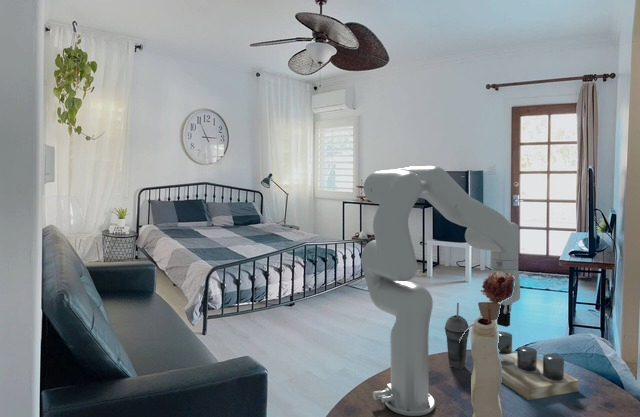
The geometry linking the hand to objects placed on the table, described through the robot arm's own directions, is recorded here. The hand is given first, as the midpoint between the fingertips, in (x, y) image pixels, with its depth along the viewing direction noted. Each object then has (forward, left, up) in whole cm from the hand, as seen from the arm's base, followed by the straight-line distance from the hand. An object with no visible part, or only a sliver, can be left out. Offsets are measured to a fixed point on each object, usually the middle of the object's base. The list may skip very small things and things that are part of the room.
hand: (503, 325), depth 129 cm
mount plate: (+3, -7, -14) cm, 16 cm away
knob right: (+6, -13, -11) cm, 18 cm away
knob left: (0, 0, -8) cm, 8 cm away
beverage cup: (-11, +7, -14) cm, 19 cm away
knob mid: (+3, -7, -11) cm, 13 cm away
